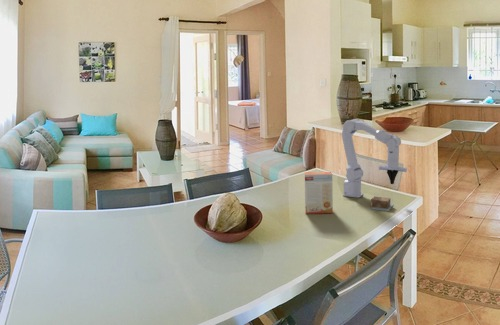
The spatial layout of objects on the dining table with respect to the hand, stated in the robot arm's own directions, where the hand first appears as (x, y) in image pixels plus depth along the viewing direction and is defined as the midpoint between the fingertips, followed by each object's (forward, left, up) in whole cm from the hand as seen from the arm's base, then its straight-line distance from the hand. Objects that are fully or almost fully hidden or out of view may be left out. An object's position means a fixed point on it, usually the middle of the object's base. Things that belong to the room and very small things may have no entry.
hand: (392, 183), depth 234 cm
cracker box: (-30, -31, -11) cm, 44 cm away
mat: (-3, -10, -10) cm, 15 cm away
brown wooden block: (-8, -10, -8) cm, 15 cm away
